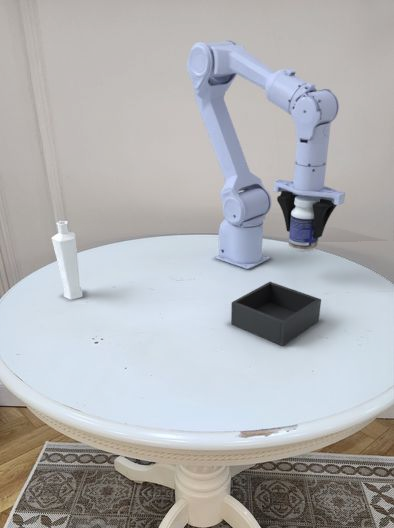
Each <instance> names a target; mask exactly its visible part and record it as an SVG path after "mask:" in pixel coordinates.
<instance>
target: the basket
mask: <svg viewBox="0 0 394 528" xmlns="http://www.w3.org/2000/svg"><path fill="white" fill-rule="evenodd" d="M321 304H322V299H321V298H320V297H319V298H318V297H316V296H313V295H311V294H307V293H305V292H301V291H299V290H295V289H293V288H289V287H287V286H284V285H282V284H281V285H280V284H278V283H275V282H272V281H268V282H266V283H264V284H263V285H261V286H259V287H257V288H254V289H253V290H251V291H250V292H248V293H246V294H244V295H242V296H241V297H239V298H237V299H235V300H233V301H231V312H230V313H231V316H230V319H231V321H230V322H231V323H230V324H231V325H232V326H234V327H236V328H239V329H241V330H243V331H246V332H248V333H250V334H253V335H255V336H257V337H260V338H262V339H265V340H266V341H269V342H272V343H274V344H276V345H279V346H281V347H284V346H286V344H288V343H289V342H291V341H292V340H294V339H295V338H297V337H298V336H300V335H301V334H303V333H304V332H306V331H307V330H308V329H310V328H311V327H313V326H314V325H316V324H318V323H319V322H320V314H321V306H322V305H321Z"/></svg>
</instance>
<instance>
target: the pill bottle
mask: <svg viewBox="0 0 394 528" xmlns="http://www.w3.org/2000/svg"><path fill="white" fill-rule="evenodd" d="M319 201H320V200H317V199H312V198H308V197H303V196H297V197H295V201H294V204H295V206H296V207H295V208H294V209H293V210H292V212H291V221H290V232H289V234H288V236H289V237H288V247H289V249H291V250H293V251H295V252H302V253H305V252H307V253H308V252H312V251H314V250H316V249H317V248H318V244H319V243H318V242H319V238H317V239H315V238H313V230H314V211H313V204H315V203H317V202H319Z"/></svg>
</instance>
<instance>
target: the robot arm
mask: <svg viewBox="0 0 394 528" xmlns="http://www.w3.org/2000/svg"><path fill="white" fill-rule="evenodd" d="M185 67H186V70H187V73H188V76H189V79H190V81H191V84H192V87H193V92H194V100H195V103H196V105H197V108H198V111H199V114H200V116H201V119H202V122H203V125H204V127H205V130H206V132H207V135H208V138H209V140H210V143H211V146H212V149H213V152H214V155H215V157H216V160H217V163H218V165H219V168H220V171H221V174H222V176H223V178H224V182H225V183H224V185H223V187H222V188H221V190H220V193H219V196H220V198H221V199H220V200H221V202H222V213H223V216H224V219H223V220H222V221H221V223H220V225H219V228H218V255H216V257H215V258H216V260H219V261H222V262H224V263H228V264H231V265H234V266H237V267H240V268H243V269H246V270H251V269H252V268H255V267H256V266H258V265H260V264H262V263H264V262H266V261H268V260H270V259H271V258H270V256H269V255H265V254H263V237H264V221H265V220H266V215H267V214H268V213H269V212H270V211H271V208H272V204H273V203H272V196H271V194H270V192H269V191H268V189H266V187H265V186H264V184H263V182H262V179H261V178H260V177H258V176H257V175H256V174H254V173H253V172H251V171H250V167H249V165H248V162H247V160H246V157H245V154H244V152H243V148H242V146H241V142H240V140H239V137H238V135H237V132H236V129H235V126H234V124H233V120H232V118H231V115H230V113H229V110H228V107H227V104H226V101H225V95H226V92H227V91H228V90H229V88H230V87H231V85H232V83H233V82H234V80H235V79H236V77H237V76H239V77H241V78H243V79H245V80H246V81H249V82H250V83H252V84H254V85H256V86H258V87H259V88H261V89H264V90H265V96H266V99H267V100H268V102H271V103H272V104H273V105H275V106H276V107H278V108H280V109H281V110H283V111H284V112H285V113H287V114H289V115H291V118H292V121H293V123H294V124H295V135H296V144H295V145H296V146H295V159H294V171H293V180H286V179H285V180H283V179H278V180H275V181H274V182H273V192H274V193H279V192H280V195H278V196H277V197H276V201H277V203H278V205H279V206H280V209H281V211H282V214H283V219H284V223H285V227H286V228H285V229H286V232H289V233H290V221H291V212H292V210H293V209H294V208H295V207H296V206H295V204H294V201H295V197H297V196H303V197H308V198H312V199H317V200H319V202H317V203H315V204H313V211H314V230H313V238H315V239H317V238H318V239H319V238H321V237H323V234H324V231H325V228H326V225H327V223H328V220H329V219H330V217H331V216H332V213H333V212H334V210H335V209H336V207H338V206H340V205H343V204H345V198H346V197H345V196H346V192H345V191H339V190H337V189H334V188H331V187H328V186H326V185H325V180H326V170H327V161H328V153H329V143H330V142H329V141H330V134H331V123H332V122H333V121H334V120H335V119H336V117H337V116H338V113H339V110H340V104H339V100H338V97H337V95H335V92H333V91H332V90H331V89H330V88H321V89H317V88H316V84H315V83H313V82H307V81H305V80H304V79H302V78H300V77H299V76H297V75H296V72H297V71H296V70H294V69H293V68H286V69H285V68H283V69H280V70H278V71H275V70H274V69H272V68H271V67H269V66H268V65H267V64H266V63H264V62H262V61H261V60H260V59H258V58H257V57H256V56H255V55H253V54H251V52H249V51H247V50H246V49H245V46H244V45H242V44H238V43H237V42H236V41H235V40H225V41H217V42H196V43H195V44H193V46H191V49H190V50H189V53H188V57H187V62H186V65H185Z"/></svg>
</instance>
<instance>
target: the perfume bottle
mask: <svg viewBox="0 0 394 528" xmlns="http://www.w3.org/2000/svg"><path fill="white" fill-rule="evenodd" d="M55 224H56V227H57V232H58V233H56V234H55V235H53V236H52V237H51V242H52V245H53V249H54V253H55V257H56V262H57V265H58V269H59V273H60V277H61V281H62V285H63V288H64V290H63V297H64V298H66V299H68V300H70V301H71V300H76V299H79V298H83V297H84V296H83V295H84V294H83V290H82V288H81V283H80V272H79V261H78V248H77V238H76V237H77V236H76V233H75V232H72V231H69V228H68V226H69V225H68V220H59V221H57V222H56V223H55Z"/></svg>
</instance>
